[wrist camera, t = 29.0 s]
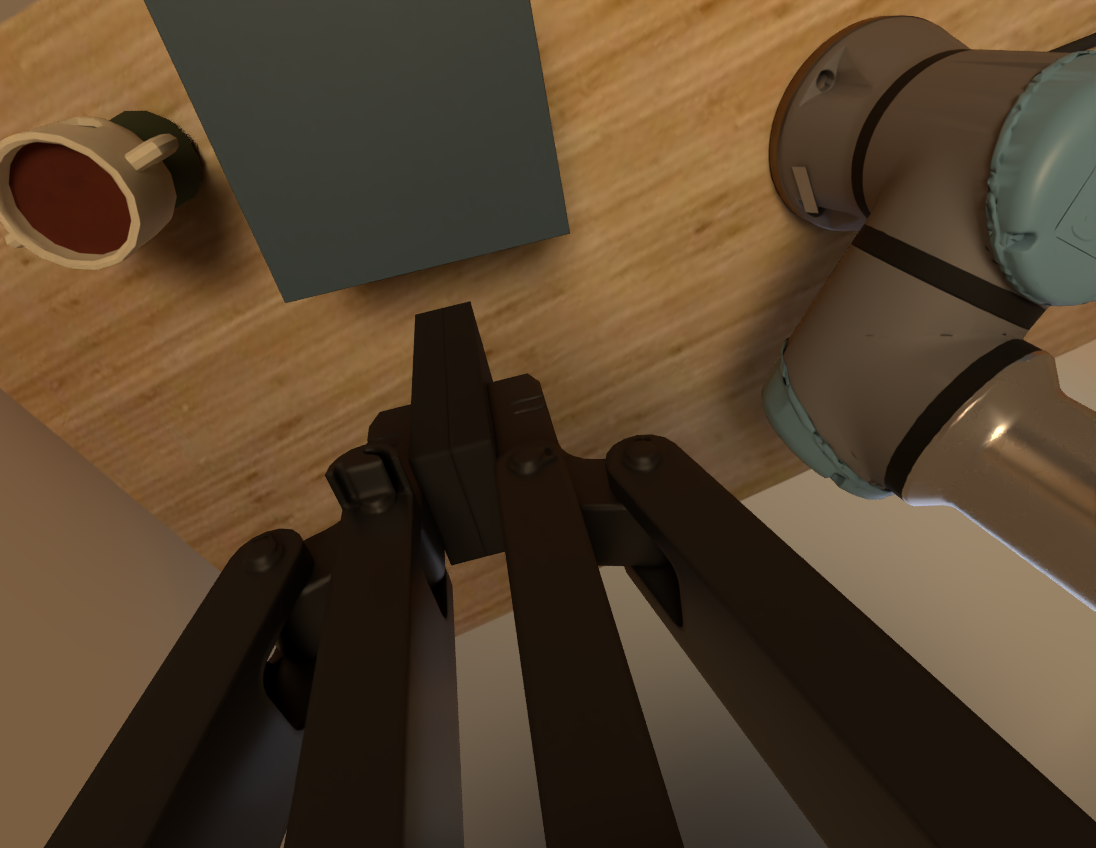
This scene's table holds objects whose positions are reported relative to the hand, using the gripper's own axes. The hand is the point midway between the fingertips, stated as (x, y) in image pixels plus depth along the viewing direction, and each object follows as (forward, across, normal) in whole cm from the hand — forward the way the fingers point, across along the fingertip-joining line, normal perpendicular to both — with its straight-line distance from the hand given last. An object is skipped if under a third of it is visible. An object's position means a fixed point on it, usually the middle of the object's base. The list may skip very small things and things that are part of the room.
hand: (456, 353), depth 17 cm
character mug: (+35, +19, -3) cm, 40 cm away
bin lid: (+20, +2, -3) cm, 21 cm away
